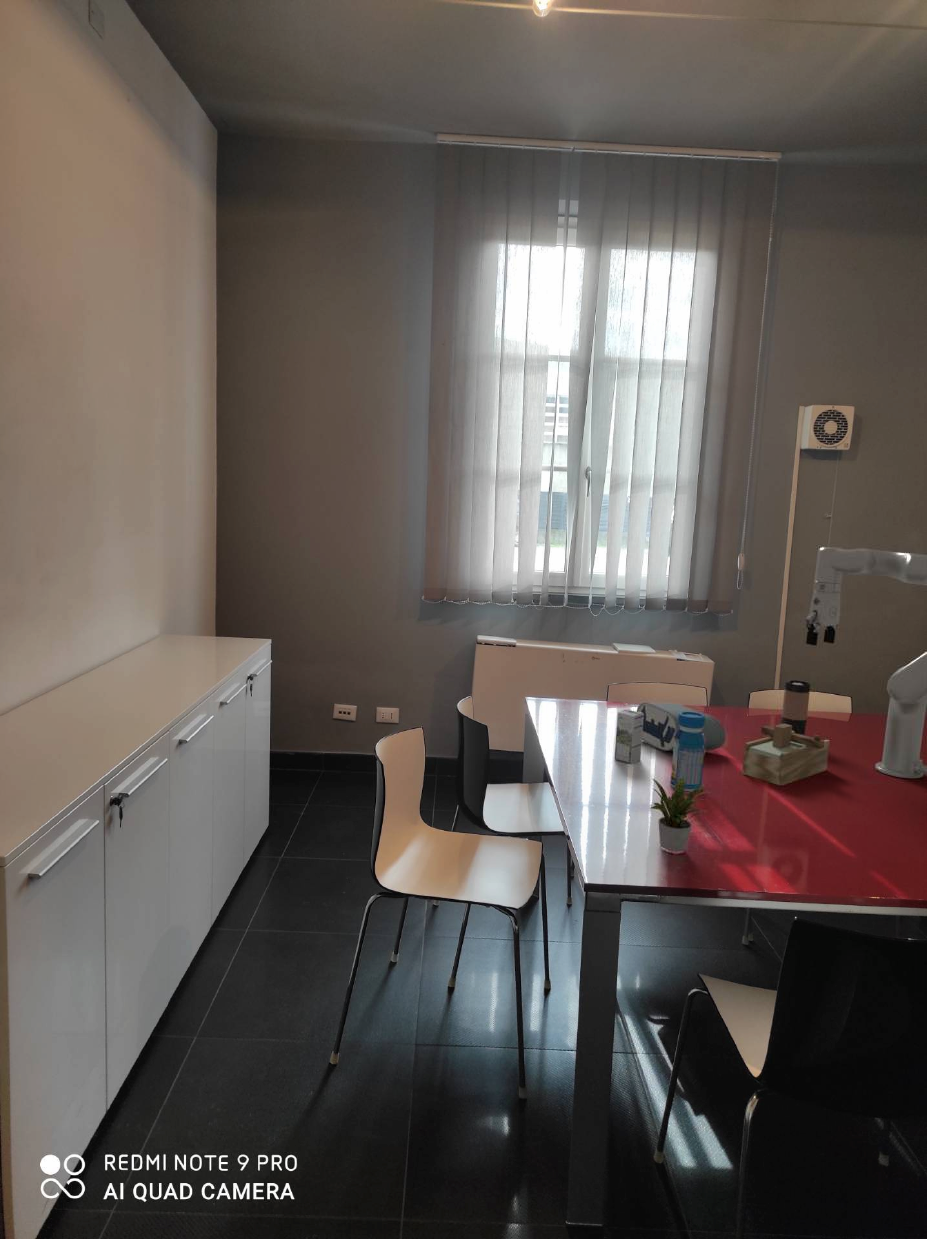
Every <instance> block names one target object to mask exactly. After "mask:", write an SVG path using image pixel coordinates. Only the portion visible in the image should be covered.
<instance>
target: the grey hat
mask: <svg viewBox="0 0 927 1239" xmlns="http://www.w3.org/2000/svg"><path fill="white" fill-rule="evenodd" d="M636 712H641V713H644V719H643V731H642V741H643V742H644V743H647V745H650V746H652V747H654V748H656V749H658V750H661V751H664V752H670V751H671V752H673V744H674V743H675V740H674V736H675V734H676V732H677V730H678V729H679V728H680V726H679V724H678V719H679V713H681V712H696V713H700V714H703V715H704V716H705V724H704V728H703V729H701V730H702V731H703V733H704V735H705V739H706V743H705V744H704V747H705V752H706V751H707V752H708V751H714V750H716V749H719V748H721V747H722V746H723V745H724V744H725V742H726V739H727V735H726V730H725V728H724V726H723V725H722V723H721V722H720V721H719V720H718V719H716V718H715V717H714V716H711V715H710V714H707V713H704V712H701V711H699V710H695V709H692V708H689V707H688V706H684V705H682V704H681V703H675V702H673V703H671V702H642V703H640V704H639V705H638V707H637V709H636Z"/></svg>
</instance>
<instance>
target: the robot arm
mask: <svg viewBox="0 0 927 1239" xmlns="http://www.w3.org/2000/svg"><path fill="white" fill-rule="evenodd" d="M816 557H817V559H816V565H815V567H816V568H815V574H814V583H813V591H812V592H813V594H812V598H811V603H810V608H809V614H808V615H807V617H805V625H806V631H807V634H806V639H805V644H806V645H808V646H809V645H810V646H817V644H818V639H819V638H818V637H819V632H818V631H819V629H820V627H825V629H824V633H823V634H824V635H823V642H824V643H826V644H835V639H836V632H837V630H838V625H839V624H840V620H841V619H840V618H841V605H842V604H841V590H842V589H841V588H842V581H843V580H842V579H843V573H845V574H850V575H862V574H864V575H866V574H867V575H875V576H882V577H887V578H888V577H889V578H893V579H896V580H898V581H900V582H902V583H906V584H914V585H920V586H927V554H921V553H920V554H919V553H912V552H911V553H910V552H895V551H888V550H878V549H871V548H862V547H861V548H854V549H853V548H852V549H844V548H842V547H833V546H832V547H831V546H821V547H820V548H819V549H818V551H817V556H816ZM886 690H887V692H888V695H889V697H890V699H889V702H888V711H887V719H886V727H885V735H884V744H883V751H882V759H881V761H879V762H876V763H875V769H876V770H877V771H879V772H880V773H883V774H885V775H888V776H892V777H896V778H904V779H919V778H920V779H921V778H923V777H924V774H925V775H927V765H924V763H923V761H924V760H923V759H921V758H920V755H921V749H922V748H921V747H922V738H923V731H924V724H925V717H926V711H927V651H925V652H924V653H923V654H921V655H920V656H918V657H916V658H915V659H913V660H912V661H911V662H910V663H908V664H907V665H905V666H902V667H899V669H897V670H896V671H895V672H894V673H893V674H892V675H891V676H890V677H889V679H888V680H887V686H886Z"/></svg>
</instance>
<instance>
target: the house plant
mask: <svg viewBox="0 0 927 1239" xmlns="http://www.w3.org/2000/svg"><path fill="white" fill-rule="evenodd" d="M673 780H674V778H673ZM652 781H653V782H654V783H655V785H656V787H657V788H658V790H659V791H658V790H657V789H655V788H653V791H655V792H656V793H657V795H658V796H659V797H660V803H658V802H653V806H652V807H650V808H649V809H650V810H651V809H653V810H659V811H661V813H662V815H663V817H660V818H659V819H658V831H659V844H660V845H661V846H660V845H659V846H660V848H661V847H663V848H665V849H667V850H671V851H682V850H685V851H686V848H687V845H688V842H689V838H690V833H691V829H692V826H693V824H692V823H691V821H689V819H691V818H693V817H694V816H695V815H697V814H700V813H701V814H703V815H705V813H709V811H707V810H700V809H695V808H694V809H693V807H695V805H693V804H694V803H696V802H697V801H698V802H699V801H705V799H703V798H698V799H695V798H696V797H698V796H699V795H702V794H713V792H711V791H703V790H704V789H703V787H706V786H707V785H708V784H702V786H699V787H697V788H696V789H694V790H693V791H684V790H685V782H684V778H683V777H682V778H681V779H680V780H679V781H678V784H677V785H676V782H675V780H674V785H675V788H674V792H673V793H672V794H671V796H670V795H669V796H668V795H667V793H666V790H665V789H664V787H663V786H662V785H661V784H660V782H658V780H656V779H654V778H652ZM701 791H702V792H701ZM687 794H688V795H687ZM685 795H687V796H685ZM691 808H692V809H691ZM692 812H693V813H694V812H696V813H694V814H692V815H691V816H690V817H688V814H690V813H692ZM704 812H705V813H704ZM687 817H688V818H687Z"/></svg>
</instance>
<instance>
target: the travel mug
mask: <svg viewBox="0 0 927 1239" xmlns="http://www.w3.org/2000/svg"><path fill="white" fill-rule="evenodd" d="M810 690H811V683H809V682H806V681H802V680H794V679H793V680H790V681H785V684H784V693H783V701H782V709H781V710H782V711H781V719H780V724H788V725H792V731H794V733H797V734H800V735H804V736H806V735H805V734H806V727H807V720H808V712H809V700H810Z"/></svg>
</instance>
